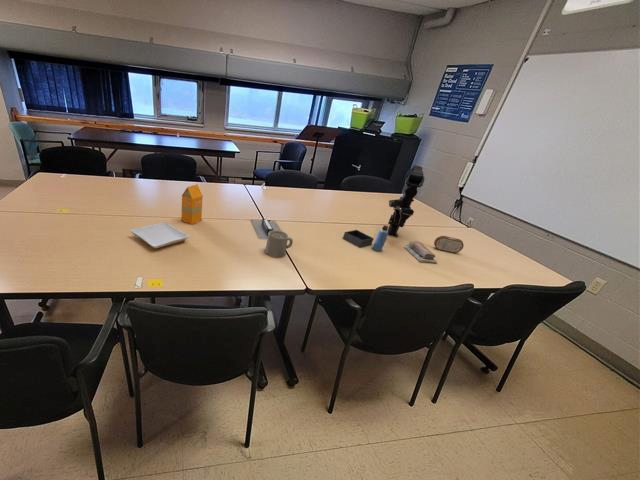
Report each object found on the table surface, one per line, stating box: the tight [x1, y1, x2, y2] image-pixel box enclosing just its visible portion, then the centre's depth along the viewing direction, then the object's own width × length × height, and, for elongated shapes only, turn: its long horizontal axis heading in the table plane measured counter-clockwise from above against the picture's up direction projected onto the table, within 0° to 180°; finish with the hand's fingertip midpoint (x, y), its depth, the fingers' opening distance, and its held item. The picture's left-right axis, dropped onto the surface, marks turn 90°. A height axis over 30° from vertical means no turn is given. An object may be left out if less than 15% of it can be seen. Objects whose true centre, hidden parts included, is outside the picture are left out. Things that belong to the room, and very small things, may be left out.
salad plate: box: [129, 222, 190, 249], centre depth 156 cm, size 21×21×3 cm
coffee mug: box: [264, 230, 294, 258], centre depth 157 cm, size 13×10×10 cm
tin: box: [433, 235, 465, 254], centre depth 185 cm, size 15×3×8 cm, turn 71°
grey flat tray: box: [251, 219, 281, 239], centre depth 182 cm, size 14×25×4 cm, turn 9°
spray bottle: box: [372, 225, 389, 252], centre depth 173 cm, size 5×5×14 cm
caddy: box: [342, 229, 374, 248], centre depth 183 cm, size 11×13×4 cm
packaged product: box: [404, 240, 438, 264], centre depth 176 cm, size 18×5×10 cm
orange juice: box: [181, 184, 204, 225], centre depth 177 cm, size 8×9×20 cm
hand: (397, 223), depth 181 cm, fingers open, 9 cm apart
